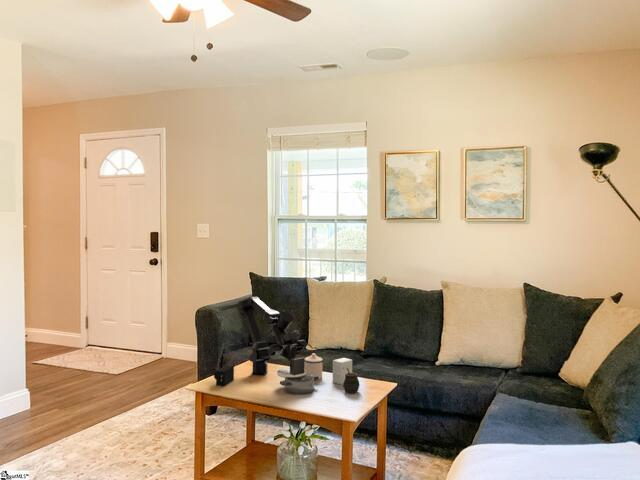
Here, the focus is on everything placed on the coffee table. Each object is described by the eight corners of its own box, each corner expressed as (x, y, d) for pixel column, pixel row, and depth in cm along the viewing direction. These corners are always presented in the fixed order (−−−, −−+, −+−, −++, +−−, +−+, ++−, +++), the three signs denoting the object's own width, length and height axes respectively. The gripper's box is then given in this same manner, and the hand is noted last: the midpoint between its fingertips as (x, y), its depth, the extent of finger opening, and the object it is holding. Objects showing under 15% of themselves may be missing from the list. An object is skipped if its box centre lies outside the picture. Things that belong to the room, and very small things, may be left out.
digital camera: (223, 379, 260) (223, 364, 260) (233, 380, 258) (234, 365, 258) (213, 385, 250) (213, 370, 250) (224, 386, 248) (224, 371, 248)
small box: (343, 379, 263) (344, 357, 263) (352, 381, 259) (352, 359, 259) (332, 382, 258) (332, 360, 257) (340, 384, 254) (341, 362, 253)
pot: (273, 390, 244) (274, 378, 244) (306, 382, 256) (307, 371, 256) (291, 397, 234) (291, 385, 234) (324, 389, 246) (324, 377, 246)
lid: (271, 373, 250) (271, 355, 250) (294, 368, 259) (295, 351, 258) (288, 380, 240) (288, 361, 240) (312, 375, 248) (312, 357, 248)
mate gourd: (350, 395, 239) (350, 372, 238) (339, 391, 245) (339, 369, 244) (362, 392, 243) (362, 370, 243) (351, 388, 249) (351, 366, 249)
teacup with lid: (326, 377, 266) (326, 353, 266) (315, 381, 258) (315, 357, 258) (306, 372, 273) (306, 349, 272) (295, 377, 265) (295, 353, 265)
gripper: (271, 327, 245) (285, 356, 237) (304, 322, 257) (319, 350, 249) (261, 341, 252) (275, 370, 243) (294, 336, 263) (308, 364, 255)
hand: (294, 363), depth 247 cm, fingers closed, pressing on lid
